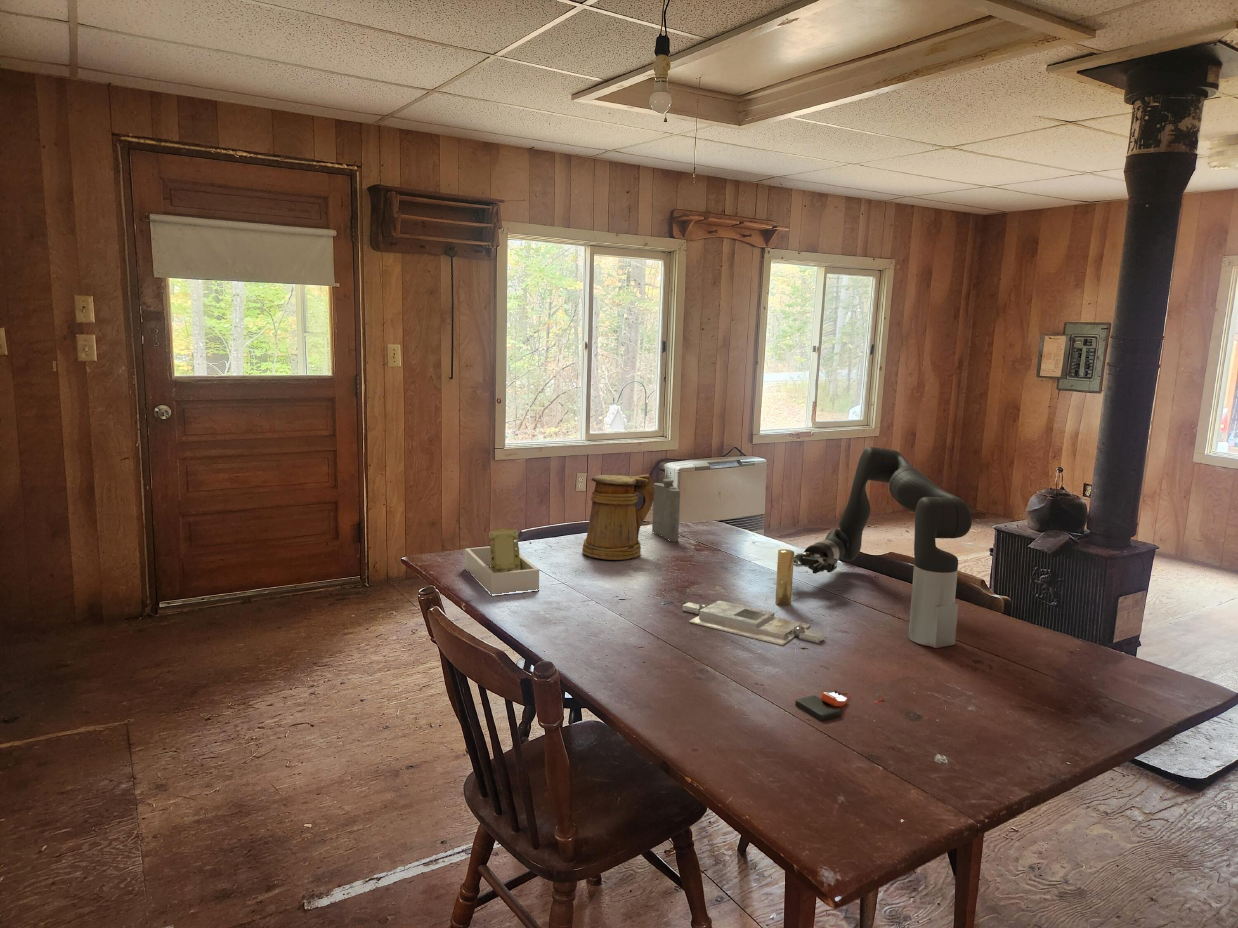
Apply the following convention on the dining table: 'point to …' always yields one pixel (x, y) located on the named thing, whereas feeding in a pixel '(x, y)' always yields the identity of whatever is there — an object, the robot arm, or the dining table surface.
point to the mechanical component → (504, 550)
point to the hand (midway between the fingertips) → (798, 566)
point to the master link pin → (784, 577)
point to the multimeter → (824, 705)
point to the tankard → (617, 516)
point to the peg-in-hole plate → (750, 622)
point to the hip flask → (666, 510)
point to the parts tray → (500, 573)
